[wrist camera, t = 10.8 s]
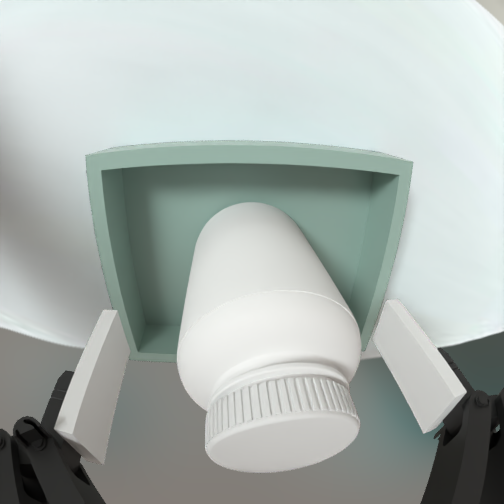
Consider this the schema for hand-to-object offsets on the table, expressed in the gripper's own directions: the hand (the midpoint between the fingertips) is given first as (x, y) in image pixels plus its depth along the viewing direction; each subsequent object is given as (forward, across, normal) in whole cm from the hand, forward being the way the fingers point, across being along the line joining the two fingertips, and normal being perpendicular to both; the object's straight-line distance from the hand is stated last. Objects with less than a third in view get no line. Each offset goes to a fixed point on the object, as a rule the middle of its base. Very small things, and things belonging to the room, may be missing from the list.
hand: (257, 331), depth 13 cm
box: (+10, 0, 0) cm, 10 cm away
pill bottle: (+9, 0, 0) cm, 9 cm away
